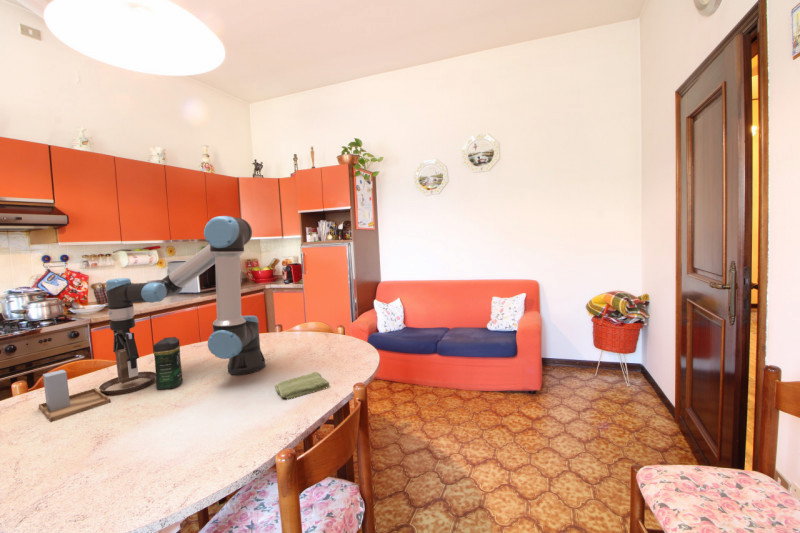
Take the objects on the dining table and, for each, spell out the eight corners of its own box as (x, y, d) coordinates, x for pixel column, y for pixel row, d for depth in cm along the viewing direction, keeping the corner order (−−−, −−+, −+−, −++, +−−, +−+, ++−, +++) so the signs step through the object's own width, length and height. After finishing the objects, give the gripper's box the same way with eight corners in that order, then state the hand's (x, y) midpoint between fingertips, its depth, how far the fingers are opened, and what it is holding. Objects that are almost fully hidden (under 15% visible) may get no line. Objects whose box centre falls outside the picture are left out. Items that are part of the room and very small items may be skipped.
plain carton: (70, 405, 120) (66, 371, 119) (50, 411, 116) (45, 377, 115) (66, 402, 122) (62, 369, 121) (47, 408, 118) (42, 374, 117)
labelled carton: (138, 378, 136) (135, 348, 135) (122, 383, 132) (119, 352, 131) (133, 376, 138) (130, 346, 137) (118, 381, 134) (115, 350, 133)
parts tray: (110, 403, 121) (110, 399, 121) (51, 422, 109) (50, 418, 109) (95, 392, 131) (95, 388, 131) (39, 408, 119) (38, 404, 118)
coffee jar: (178, 388, 131) (173, 341, 130) (153, 392, 129) (149, 343, 127) (185, 379, 141) (181, 334, 139) (163, 382, 138) (158, 336, 137)
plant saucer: (87, 400, 125) (86, 392, 125) (118, 380, 142) (118, 373, 142) (141, 395, 128) (140, 387, 127) (165, 376, 145) (164, 369, 145)
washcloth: (273, 389, 129) (272, 381, 129) (319, 377, 139) (318, 369, 138) (282, 402, 118) (281, 393, 118) (331, 389, 128) (330, 380, 127)
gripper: (99, 317, 137) (105, 370, 139) (121, 324, 123) (127, 383, 125) (122, 313, 143) (128, 364, 145) (145, 319, 129) (151, 376, 131)
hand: (127, 373), depth 135 cm, fingers open, 11 cm apart
